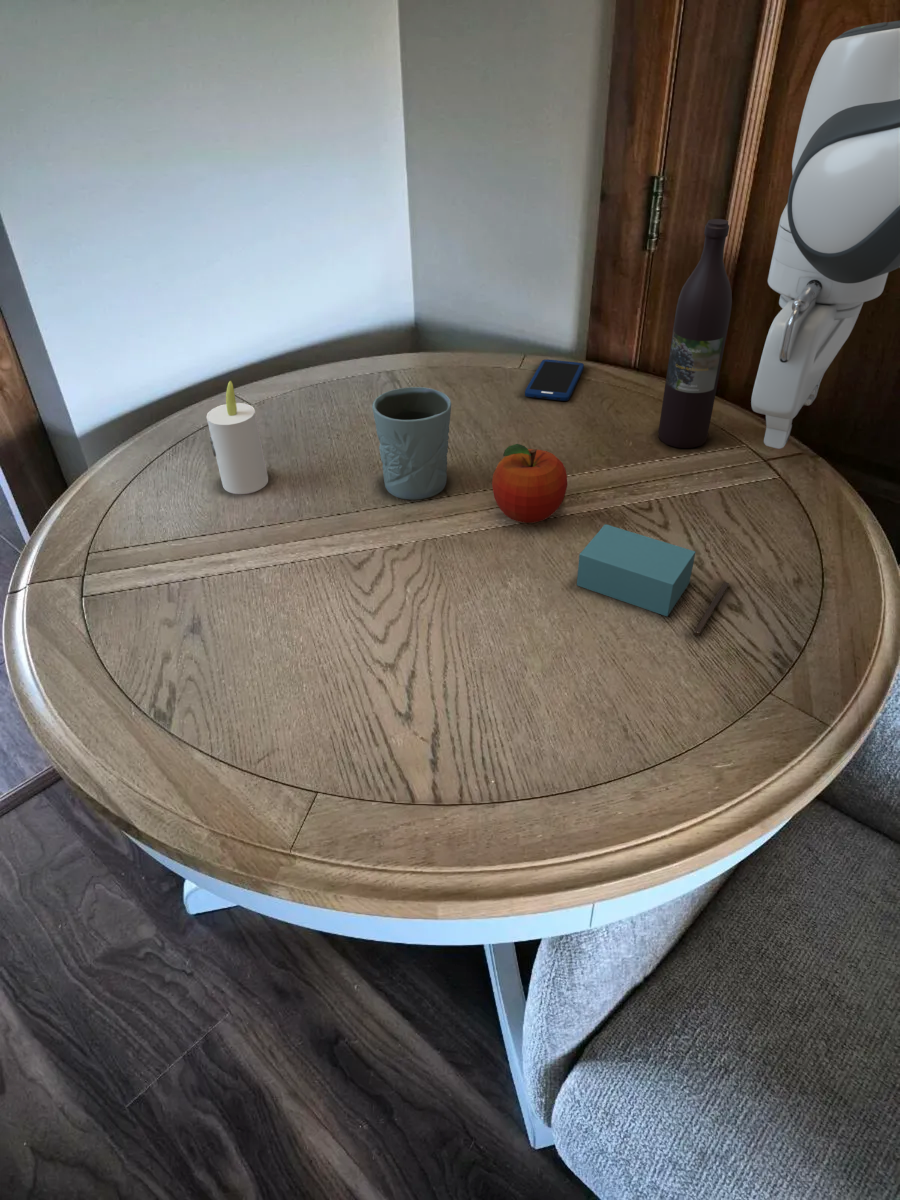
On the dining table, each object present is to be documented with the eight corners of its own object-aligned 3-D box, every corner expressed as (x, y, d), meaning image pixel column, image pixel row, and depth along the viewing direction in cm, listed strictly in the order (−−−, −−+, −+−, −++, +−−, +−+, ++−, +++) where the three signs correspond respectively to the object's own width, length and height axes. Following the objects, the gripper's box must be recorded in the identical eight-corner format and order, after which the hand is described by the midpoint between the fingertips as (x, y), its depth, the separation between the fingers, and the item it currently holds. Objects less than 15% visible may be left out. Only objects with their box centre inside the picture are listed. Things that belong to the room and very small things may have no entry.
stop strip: (728, 587, 94) (729, 583, 94) (698, 637, 88) (699, 633, 87) (723, 585, 94) (724, 581, 94) (692, 635, 88) (693, 631, 88)
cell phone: (523, 396, 133) (523, 392, 133) (542, 362, 143) (543, 358, 143) (568, 402, 131) (568, 397, 131) (584, 366, 141) (585, 362, 141)
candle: (219, 475, 117) (195, 375, 107) (265, 467, 118) (245, 368, 109) (223, 498, 112) (199, 395, 103) (271, 489, 114) (251, 387, 104)
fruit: (574, 528, 104) (580, 459, 98) (501, 538, 103) (502, 468, 96) (553, 489, 111) (557, 422, 105) (484, 498, 110) (484, 431, 104)
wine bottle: (648, 439, 121) (677, 223, 102) (674, 422, 125) (707, 210, 106) (690, 454, 117) (729, 233, 98) (715, 436, 121) (758, 220, 102)
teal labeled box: (604, 523, 97) (601, 554, 100) (578, 554, 92) (575, 585, 95) (695, 551, 92) (689, 582, 95) (673, 584, 88) (667, 616, 90)
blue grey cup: (366, 493, 112) (358, 412, 104) (400, 458, 119) (394, 380, 111) (434, 508, 109) (430, 426, 101) (464, 472, 116) (463, 392, 108)
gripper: (840, 313, 58) (795, 482, 67) (895, 236, 71) (851, 387, 80) (750, 298, 61) (718, 463, 69) (819, 228, 74) (785, 374, 82)
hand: (790, 422), depth 75 cm, fingers open, 8 cm apart
